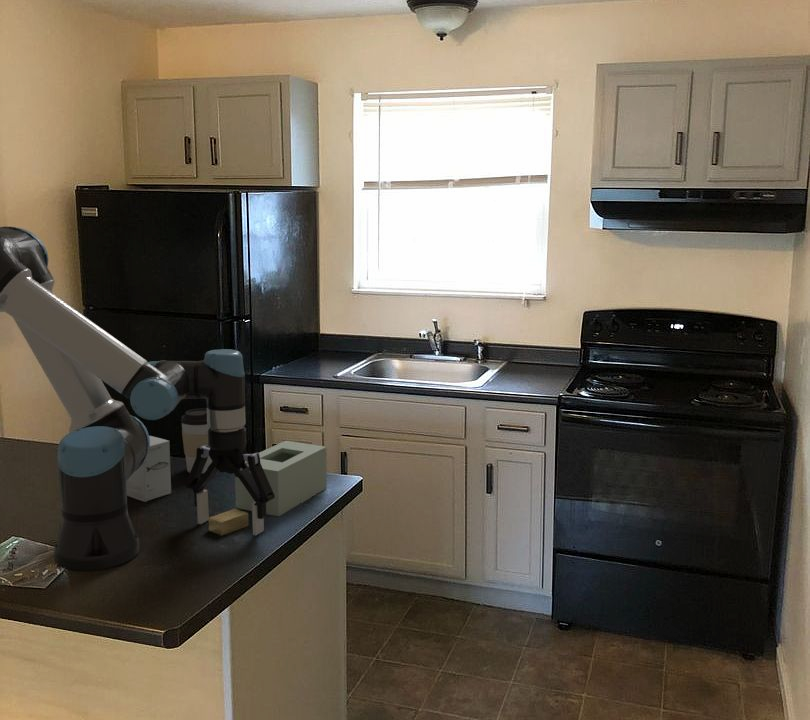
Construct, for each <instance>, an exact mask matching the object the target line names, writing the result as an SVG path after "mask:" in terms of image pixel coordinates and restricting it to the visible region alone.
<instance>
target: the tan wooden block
mask: <svg viewBox="0 0 810 720" xmlns="http://www.w3.org/2000/svg"><path fill="white" fill-rule="evenodd" d="M247 527H249V512H247V511H243V510H242V509H239V508H236V507H235V508H233V509H230V510H228V511H227V510H226V511H224V512H221V513H218V514H216V515H213V516H212V515H211V516H209V520H208V532H209V531H210V532H212V533H214V534H217V535H219V536H224V535H227V534H230V533H233V532H236V531H237V530H241V529H243V528H247Z"/></svg>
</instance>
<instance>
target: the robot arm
mask: <svg viewBox="0 0 810 720" xmlns="http://www.w3.org/2000/svg"><path fill="white" fill-rule="evenodd" d="M47 250H48V249H47V248H46V246H45V244H44V243H43V241H42V240H41V239H40V238H39V237H38V236H37V235H36V234H34V233H33V232H31V231H29V230H27V229H25V228H21V227H16V226H0V313H6V314H7V315H9V316H10V317H12V318H13V320H14V322H15V324H16V325H17V327H18V329H19V331H20V333H21V334H22V335H23V338H24V339H25V341H26V343H27V344H28V347H29V348H30V351H32V353H33V355H34V356H35V359H36V360H37V362H38V363H39V365H40V367H41V369H42V371H43V373H44V374H45V376H46V377H47V380H48V381H49V383H50V384H51V386H52V388H53V390H54V392H55V393H56V395H57V396H58V398H59V400H60V402H61V404H62V405H63V407H64V409H65V411H66V412H67V414H68V416H69V418H70V420H71V422H70V426H69V428H68V432H69V433H67V434H65V436H63V437H62V438H61V439H60V441H59V442H58V445H57V457H56V461H57V467H58V480H59V493H60V506H61V523H60V526H59V529H58V535H57V540H56V542H55V544H54V548H53V552H54V553H53V554H54V562H55V561H56V562H55V564H56V565H58V566H59V565H60V568H61V567H62V568H63V569H66V570H71V571H97V570H105V569H109V568H113V567H117V566H120V565H123V564H125V563H127V562H129V561H132V559H134V558H135V557H136V556H137V555H138V554H139V552H140V539H139V535H138V533H137V532H136V531H135V528H134V524H133V521H132V520H131V519H132V518H131V517H130V514H129V511H128V496H127V490H126V481H127V480H128V479H129V477H130V476H131V475H132V474H133V473H134V472H135V471H136V470H137V469H138V468H139V467H140V466H141V465H142V464H143V462H144V461H145V459H146V456H147V454H148V451H149V447H150V438H149V436H150V435H149V432H148V429H147V427H146V426H145V425H144V423H143V422H142V421H141V420H140V419H139V418H138V417H140V418H141V419H144V420H148V421H157V420H159V419H162V418H165V417H166V416H167V415H170V413H172V412H174V410H175V409H176V407H177V405H178V404H179V403H180V402H181V401H183V400H190V399H191V400H192V399H193V400H194V399H195V400H197V399H198V400H199V399H200V400H201V399H205V401H206V409H207V426H208V427H209V430H208V445H209V447H210V448H209V447H208V445H204V446H201V447H199V448H197V453H196V459H195V462H194V464H193V467H192V469H191V472H189V474H188V477H187V479H186V481H185V485H184V487H185V488H186V489H191V491H192V493H193V499H194V503H193V504H194V507H196V508H197V509H196V511H197V512H196V514H197V524H198V525H203V524H204V523H206V522H207V521H208V522H209V517H210V515H209V514H210V512H209V510H210V509H209V490H208V489H207V487H206V486H208V485H209V483H210V481H211V480H212V479H213V478H214V477H215V475H216V474H217V473H218V472H219V473H226V474H231V475H234V477H235V476H236V477H238V478H239V479H240V480H241V482H242V483H243V485H244V486H245V488H246V489H247V491H248V492H249V494H250V495H251V496H252V498H253V499H254V501H255V503H253V504H252V511H251V515H252V516H251V517H252V535H253V536H257V535H259V534H261V533H262V532H264V531H265V524H264V521H265V519H264V518H266V516H267V514H266V502H268V501H270V500H272V499H274V498H275V495H274V493H273V491H272V488H271V486H270V484H269V482H268V479H267V477H266V475H265V472H264V470H263V468H262V466H261V463H260V456H259V453H260V452H254V453H247V452H246V451H247V450H246V445H247V428H246V427H245V425H246V423H247V422H246V399H245V398H246V397H245V395H246V392H245V391H246V389H245V387H246V386H245V374H246V373H245V369H244V357H243V354H242V353H241V351H239V350H235V349H230V348H229V349H227V348H225V349H224V348H222V349H211V350H209V351H206V353H204V358H203V360H197V361H196V360H165V359H161V360H158V361H157V360H155V361H152V360H151V361H148V360H147V359H145V358H144V357H142V356H141V355H139V354H138V353H136V352H135V351H134V350H132V349H131V348H130V347H128V346H127V345H125V344H124V343H123V342H121V341H120V340H118V339H117V338H115V337H114V336H113V335H112V334H110V333H109V332H107V331H106V330H105V329H103V328H102V327H100V326H99V325H97V324H96V323H95V322H93V321H92V320H91V319H89V318H88V317H87V316H85V315H83V314H82V313H81V312H79V310H76V308H74V307H73V306H71V305H70V304H68V303H67V302H65V301H64V300H63V299H61V298H60V297H58V296H57V295H56V294H55V293H53V288H54V285H55V283H56V281H55V278H54V277H53V275H52V273H51V271H50V270H49V267H48V265H49V255H48V251H47ZM104 383H105V384H106V385H108V386H110V387H111V388H112V389H114V390H115V391H116V392H118V393H119V394H121V395H122V396H124V397H125V398H126V399H128V400H129V401H130V406H131V408H132V410H133V412H134V413H135V414H136V415H137V416H138V417H136V416H133V415H131V414H130V412H129V410H128V409H127V407H126V405H125V404H124V402H122V401H120V400H115V399H114V398H112V396H111V395H110V393H109V391H108V389H107V387H106V386H105V384H104ZM209 456H210V458H211V460H212V463H211V464H210V465H209V466H208V468H207V470H206V472H205V473H203V474H201V473H202V471H203V468H204V466H205V464H206V461H207V459H208V457H209ZM245 461H247V462H246V463H245ZM247 465H248V466H249V467H248V466H247ZM241 468H242V470H241V471H240V469H241ZM249 470H250V471H249ZM250 472H251V473H250ZM201 475H202V476H201Z"/></svg>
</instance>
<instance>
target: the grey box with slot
mask: <svg viewBox="0 0 810 720" xmlns="http://www.w3.org/2000/svg"><path fill="white" fill-rule="evenodd" d="M258 453H259V456H260V463H261V466H262V468H263V470H264V472H265V475H266V477H267V479H268V482H269V484H270V486H271V488H272V491H273V493H274V495H275V498H274V499H272V500H270V501H268V502H266V515H269V516H275V517H281V516H282V515H284V514H285V513H287V512H289V511H291V510H292V509H294V508H295V507H297V506H299V505H301V504H302V503H305V502H306V501H307V500H309V499H311V498H312V496H313V497H315V496H316V495H318V494H319V493H321V492H322V491H324V490H327V487H328V486H327V485H328V484H327V483H328V482H327V481H328V480H327V476H328V474H327V468H328V467H327V446H323V445H316V444H311V443H304V442H297V441H291V440H284V441H282V442H279V443H277V444H276V445H275V444H274V445H273V446H271V447H268V448H266V449H264V450H263V451H260V452H258ZM246 462H247V461H245V463H246ZM247 466H248V465H247ZM248 467H249V466H248ZM241 470H242V468H241V469H240V471H241ZM249 471H250V470H249ZM250 473H251V472H250ZM234 482H235V484H234V485H235V508H236V509H238V510H245V511H249V512H252V504H253V503H255V501H254V499H253V498H252V496H251V495H250V494H249V492H248V491H247V489H246V488H245V486H244V485H243V483H242V482H241V480H240V479H239V478H238V477H236V476H235V475H234ZM317 493H318V494H317ZM300 503H301V504H300Z"/></svg>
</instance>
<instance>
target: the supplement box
mask: <svg viewBox="0 0 810 720" xmlns="http://www.w3.org/2000/svg"><path fill="white" fill-rule="evenodd" d="M149 438H150V447H149V451H148V454H147V456H146V459H145V461H144V462H143V464H142V465H141V466H140V467H139V468H138V469H137V470H136V471H135V472H134V473H133V474H132V475H131V476H130V477H129V479H128V480H127V481H126V490H127V497H130V498H133V499H135V500H139V501H141V502H144V503H146V502H148V501H151V500H153V499H157V498H160V497H164V496H167V495H170V494H171V493H172V481H171V478H172V477H171V475H172V474H171V455H170V454H171V452H170V448H171V447H170V446H171V445H170V440H169V439H168V440H167V439H164V438H161V437H156V436H152V435H149Z"/></svg>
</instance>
